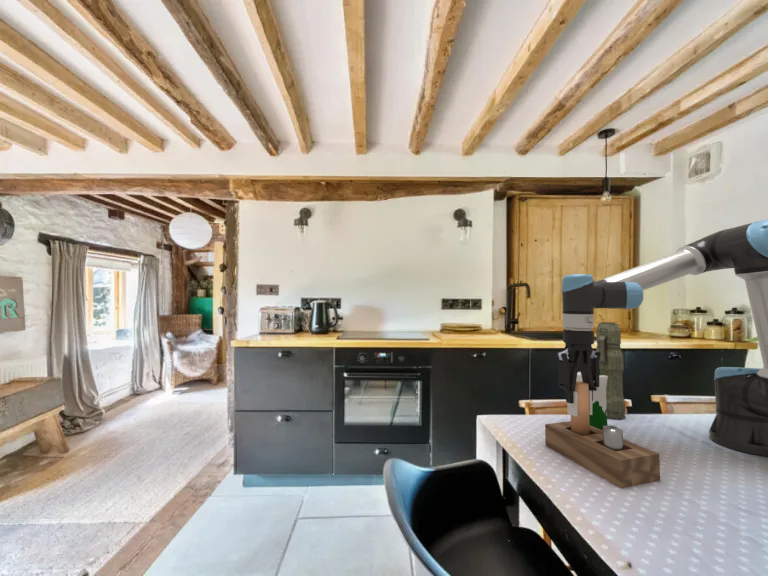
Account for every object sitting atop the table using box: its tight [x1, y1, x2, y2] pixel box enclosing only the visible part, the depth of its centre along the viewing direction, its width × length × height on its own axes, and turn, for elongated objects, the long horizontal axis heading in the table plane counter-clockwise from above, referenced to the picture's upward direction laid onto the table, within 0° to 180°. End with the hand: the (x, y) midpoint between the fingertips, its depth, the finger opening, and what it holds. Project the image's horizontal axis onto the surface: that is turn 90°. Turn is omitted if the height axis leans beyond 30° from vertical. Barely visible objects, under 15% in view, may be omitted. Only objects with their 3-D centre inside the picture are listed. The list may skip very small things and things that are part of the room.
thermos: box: [595, 321, 626, 421], centre depth 120 cm, size 9×12×35 cm
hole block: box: [544, 420, 661, 489], centre depth 82 cm, size 12×22×7 cm, turn 16°
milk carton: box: [576, 368, 608, 430], centre depth 108 cm, size 9×9×20 cm
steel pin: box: [603, 425, 624, 451], centre depth 78 cm, size 4×4×10 cm
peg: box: [570, 381, 590, 436], centre depth 87 cm, size 4×4×15 cm
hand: (579, 413), depth 87 cm, fingers closed on peg, 4 cm apart
